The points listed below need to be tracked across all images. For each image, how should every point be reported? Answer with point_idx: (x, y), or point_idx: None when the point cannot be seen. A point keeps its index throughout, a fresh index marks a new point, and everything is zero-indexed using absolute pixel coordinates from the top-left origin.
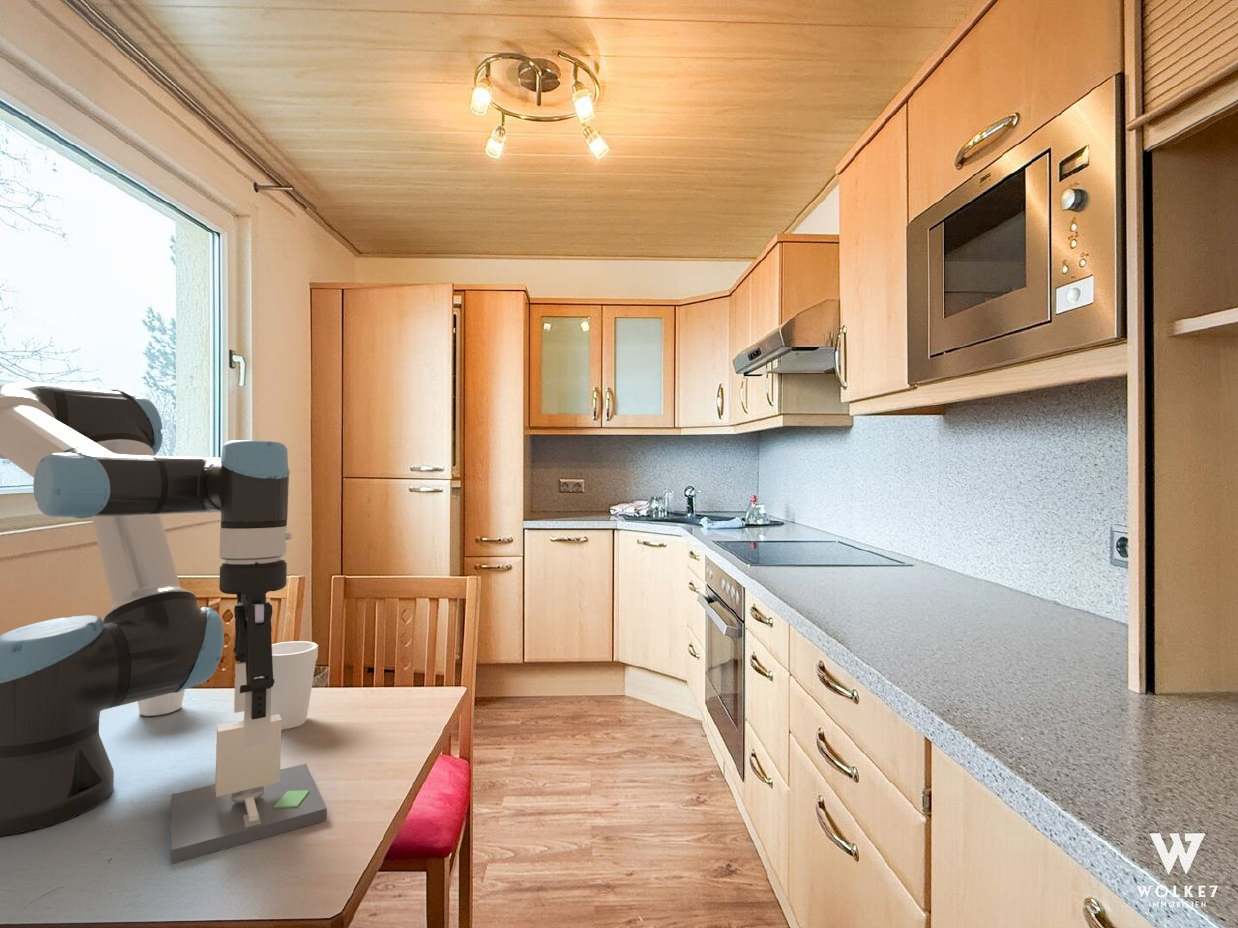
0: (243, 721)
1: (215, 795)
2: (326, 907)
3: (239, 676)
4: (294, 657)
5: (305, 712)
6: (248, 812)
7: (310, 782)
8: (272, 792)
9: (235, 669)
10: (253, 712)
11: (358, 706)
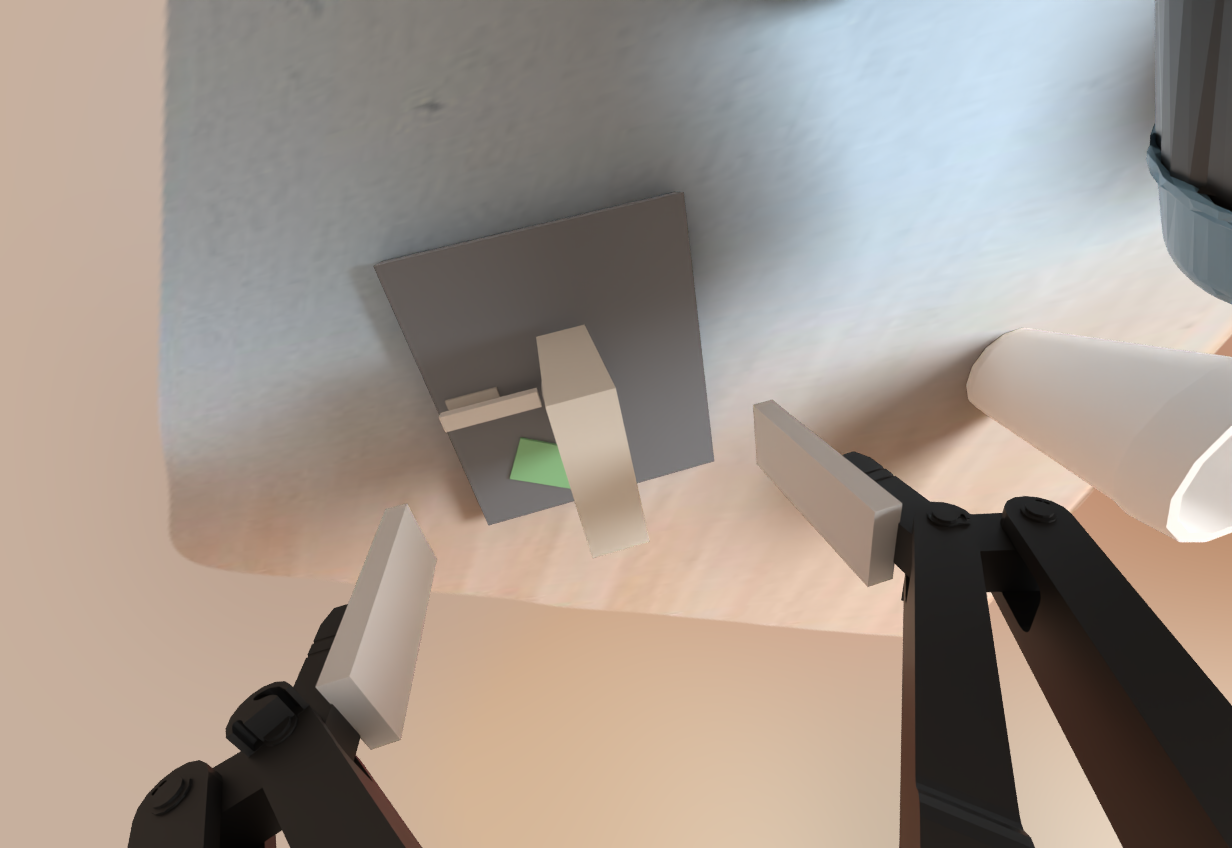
0: (623, 460)
1: (630, 305)
2: (187, 549)
3: (832, 488)
4: (1156, 491)
5: (996, 421)
6: (462, 411)
7: None
8: None
9: (861, 493)
10: (317, 638)
11: (988, 497)
